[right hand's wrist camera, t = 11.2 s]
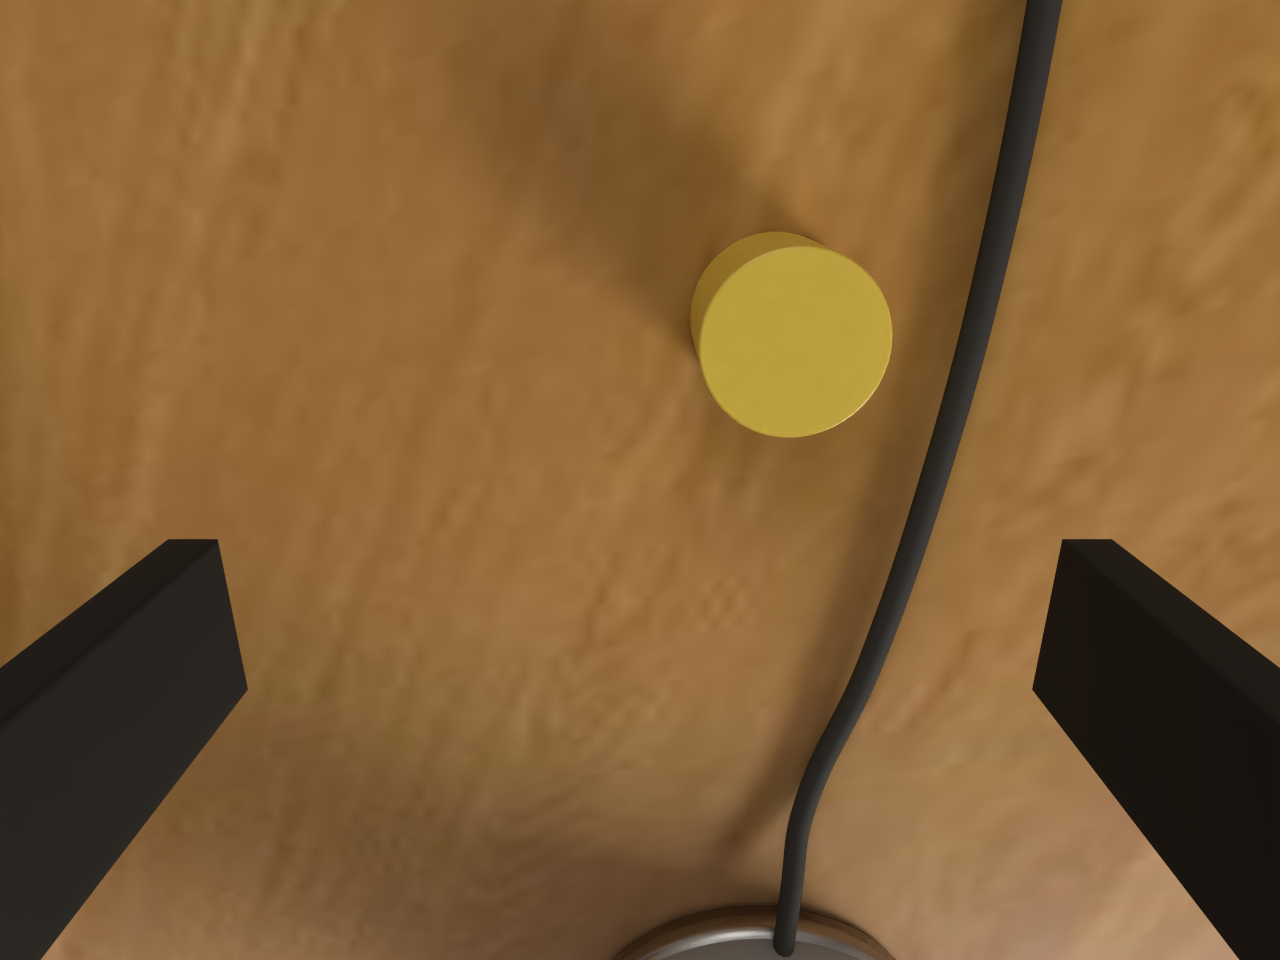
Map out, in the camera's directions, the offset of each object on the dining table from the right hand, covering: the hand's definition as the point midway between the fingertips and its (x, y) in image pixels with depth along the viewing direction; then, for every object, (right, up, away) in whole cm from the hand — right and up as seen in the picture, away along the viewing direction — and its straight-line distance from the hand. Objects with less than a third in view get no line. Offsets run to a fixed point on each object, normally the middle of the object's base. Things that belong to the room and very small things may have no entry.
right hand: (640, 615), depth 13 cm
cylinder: (+4, +7, +12) cm, 15 cm away
